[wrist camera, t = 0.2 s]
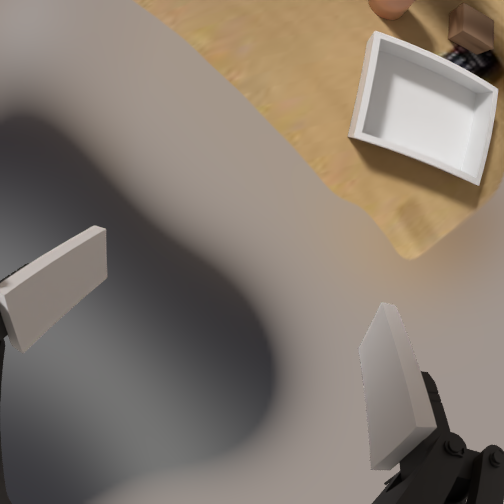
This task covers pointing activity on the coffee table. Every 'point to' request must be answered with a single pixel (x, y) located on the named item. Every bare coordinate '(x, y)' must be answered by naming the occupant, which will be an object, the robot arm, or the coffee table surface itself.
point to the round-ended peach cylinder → (390, 8)
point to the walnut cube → (471, 29)
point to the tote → (424, 107)
